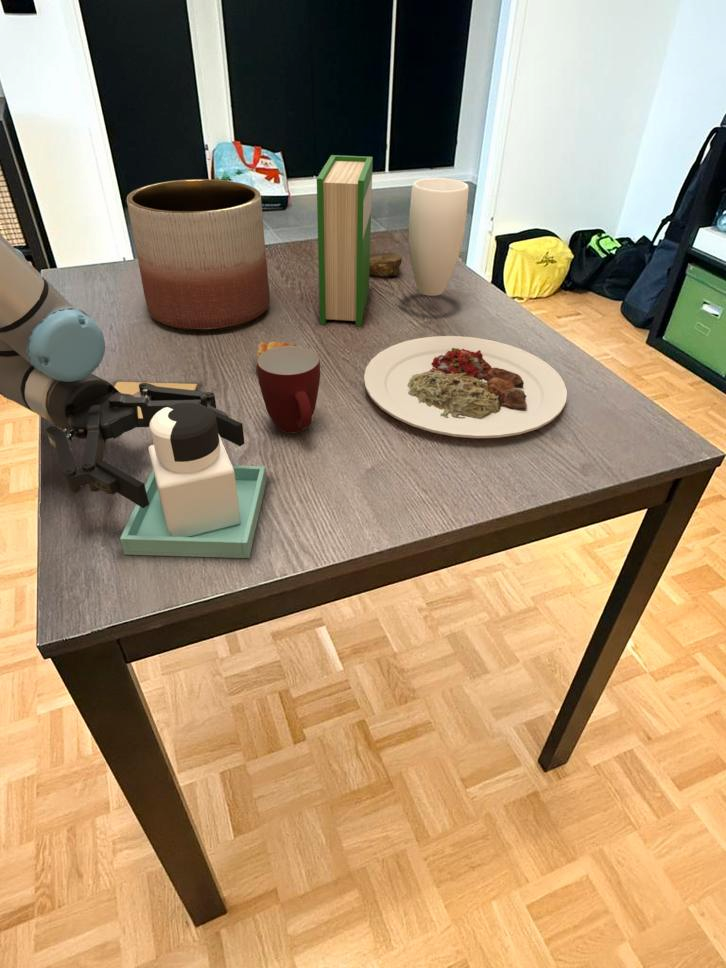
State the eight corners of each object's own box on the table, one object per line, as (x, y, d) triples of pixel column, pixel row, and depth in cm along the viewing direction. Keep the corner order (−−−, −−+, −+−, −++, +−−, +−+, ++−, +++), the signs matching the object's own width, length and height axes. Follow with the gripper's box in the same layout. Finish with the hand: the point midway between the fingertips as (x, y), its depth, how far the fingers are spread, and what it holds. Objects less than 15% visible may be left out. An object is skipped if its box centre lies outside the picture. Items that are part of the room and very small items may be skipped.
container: (226, 484, 74) (212, 389, 66) (242, 525, 69) (228, 426, 61) (160, 499, 72) (137, 402, 64) (170, 542, 66) (147, 442, 58)
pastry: (317, 357, 101) (317, 336, 99) (315, 378, 96) (314, 356, 94) (260, 356, 101) (258, 334, 99) (254, 377, 96) (252, 354, 94)
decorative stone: (349, 275, 131) (349, 258, 129) (357, 260, 138) (357, 244, 136) (398, 279, 130) (399, 262, 128) (404, 264, 137) (405, 247, 135)
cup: (395, 312, 116) (403, 188, 103) (410, 292, 124) (418, 174, 111) (450, 320, 114) (464, 194, 101) (461, 299, 122) (476, 180, 108)
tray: (124, 554, 66) (119, 538, 64) (159, 477, 76) (155, 462, 74) (249, 558, 66) (247, 542, 64) (266, 481, 76) (265, 465, 74)
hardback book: (360, 326, 111) (363, 180, 96) (319, 323, 112) (316, 178, 97) (368, 289, 125) (372, 156, 110) (332, 287, 125) (331, 155, 110)
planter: (277, 289, 124) (270, 180, 111) (261, 338, 107) (250, 215, 94) (166, 286, 124) (147, 176, 111) (132, 334, 107) (105, 211, 94)
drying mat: (94, 419, 86) (93, 417, 85) (117, 383, 93) (117, 381, 93) (181, 422, 86) (180, 419, 85) (197, 386, 93) (197, 383, 93)
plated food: (416, 467, 79) (418, 445, 77) (335, 362, 100) (335, 343, 98) (607, 422, 88) (614, 402, 86) (495, 335, 110) (498, 317, 107)
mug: (341, 440, 83) (341, 373, 77) (287, 458, 80) (282, 390, 73) (304, 404, 90) (301, 340, 84) (252, 419, 86) (246, 354, 80)
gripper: (161, 386, 86) (277, 439, 76) (-15, 474, 70) (103, 555, 60) (151, 336, 81) (272, 386, 72) (-40, 417, 65) (83, 496, 56)
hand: (195, 463), depth 66 cm, fingers open, 13 cm apart
